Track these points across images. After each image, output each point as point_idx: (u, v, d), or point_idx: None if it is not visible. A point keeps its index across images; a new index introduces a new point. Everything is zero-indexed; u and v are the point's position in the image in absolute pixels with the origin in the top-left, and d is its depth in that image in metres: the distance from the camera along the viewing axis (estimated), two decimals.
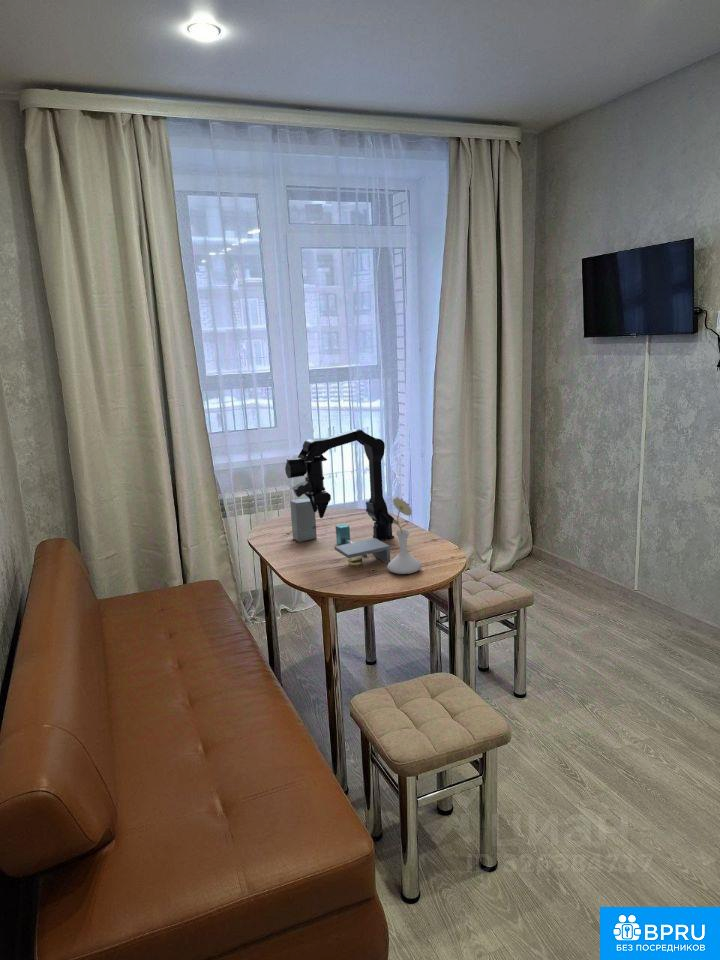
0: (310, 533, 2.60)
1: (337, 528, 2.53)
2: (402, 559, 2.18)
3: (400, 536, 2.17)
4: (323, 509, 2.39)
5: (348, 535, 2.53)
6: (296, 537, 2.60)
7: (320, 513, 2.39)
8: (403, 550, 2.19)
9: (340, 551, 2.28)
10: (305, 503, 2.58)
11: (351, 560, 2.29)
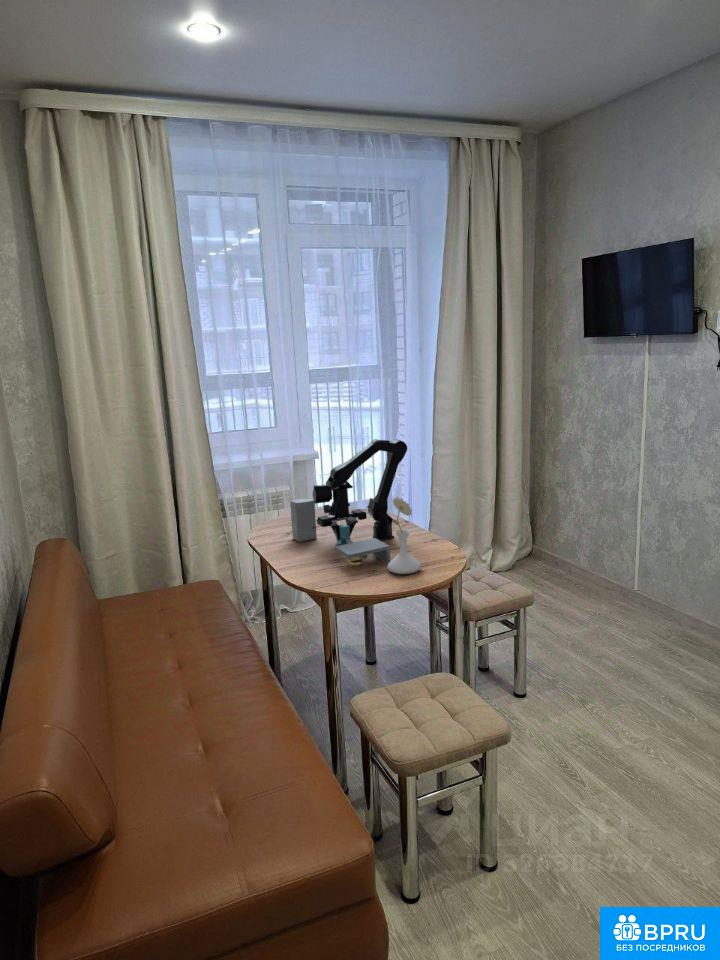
0: (310, 533, 2.60)
1: None
2: (402, 559, 2.18)
3: (400, 536, 2.17)
4: (336, 533, 2.52)
5: (348, 535, 2.53)
6: (296, 537, 2.60)
7: (335, 535, 2.53)
8: (403, 550, 2.19)
9: (340, 551, 2.28)
10: (305, 503, 2.58)
11: (351, 560, 2.29)
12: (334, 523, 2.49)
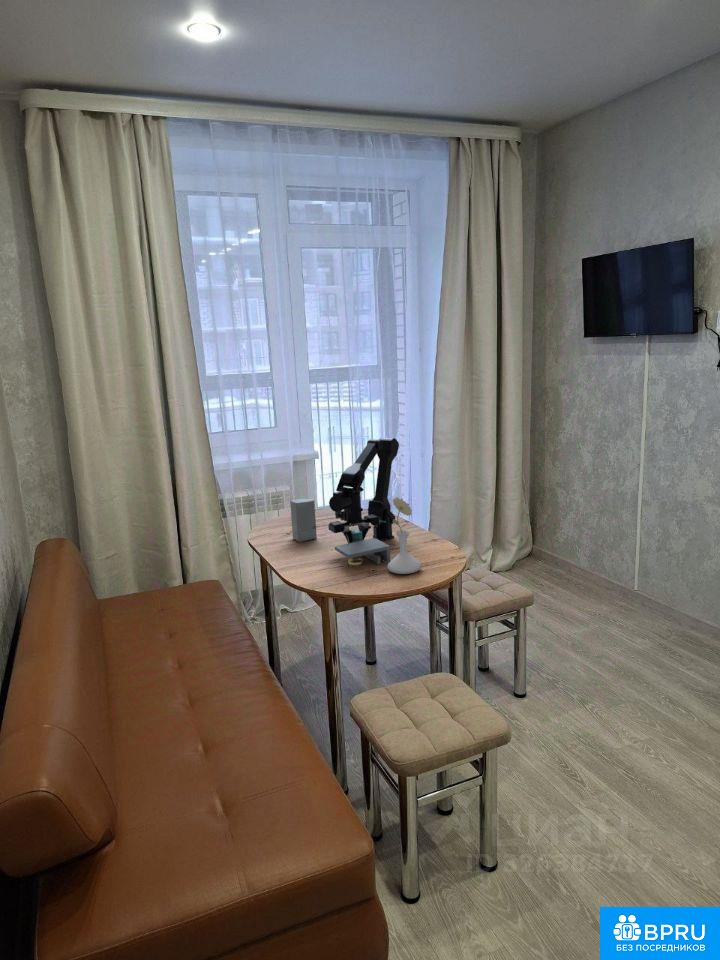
0: (310, 533, 2.60)
1: None
2: (402, 559, 2.18)
3: (400, 536, 2.17)
4: (348, 539, 2.42)
5: None
6: (296, 537, 2.60)
7: (347, 541, 2.43)
8: (403, 550, 2.19)
9: (340, 551, 2.28)
10: (305, 503, 2.58)
11: (351, 560, 2.29)
12: (346, 529, 2.39)
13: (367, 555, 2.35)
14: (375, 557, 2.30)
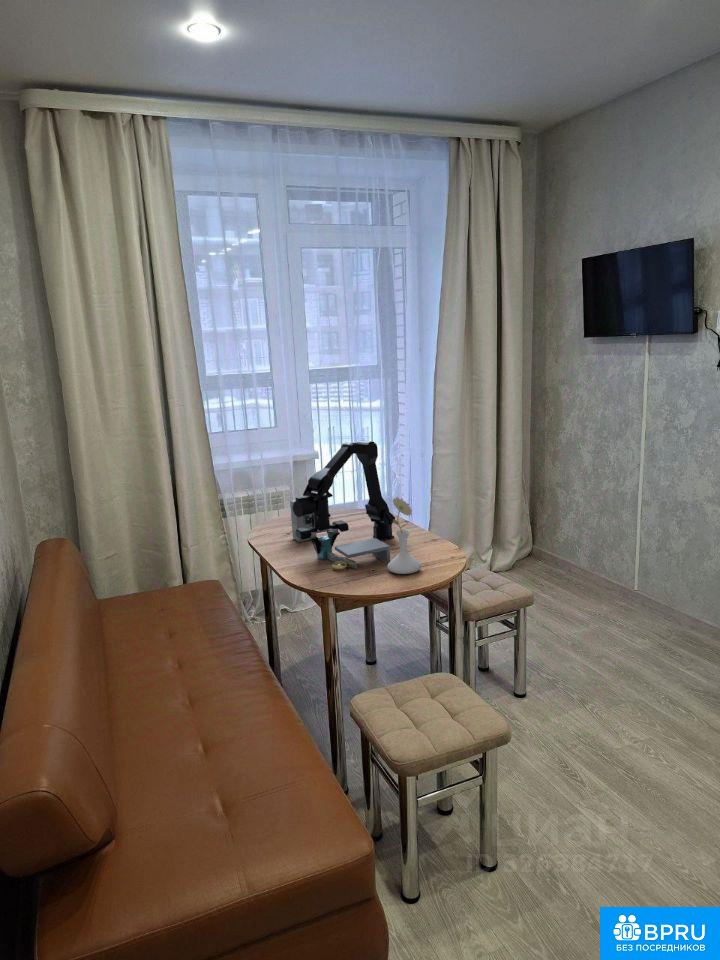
0: None
1: None
2: (402, 559, 2.18)
3: (400, 536, 2.17)
4: (315, 546, 2.36)
5: (330, 548, 2.38)
6: (296, 537, 2.60)
7: (315, 548, 2.38)
8: (403, 550, 2.19)
9: (340, 551, 2.28)
10: None
11: (336, 564, 2.26)
12: (313, 535, 2.34)
13: None
14: (351, 562, 2.25)
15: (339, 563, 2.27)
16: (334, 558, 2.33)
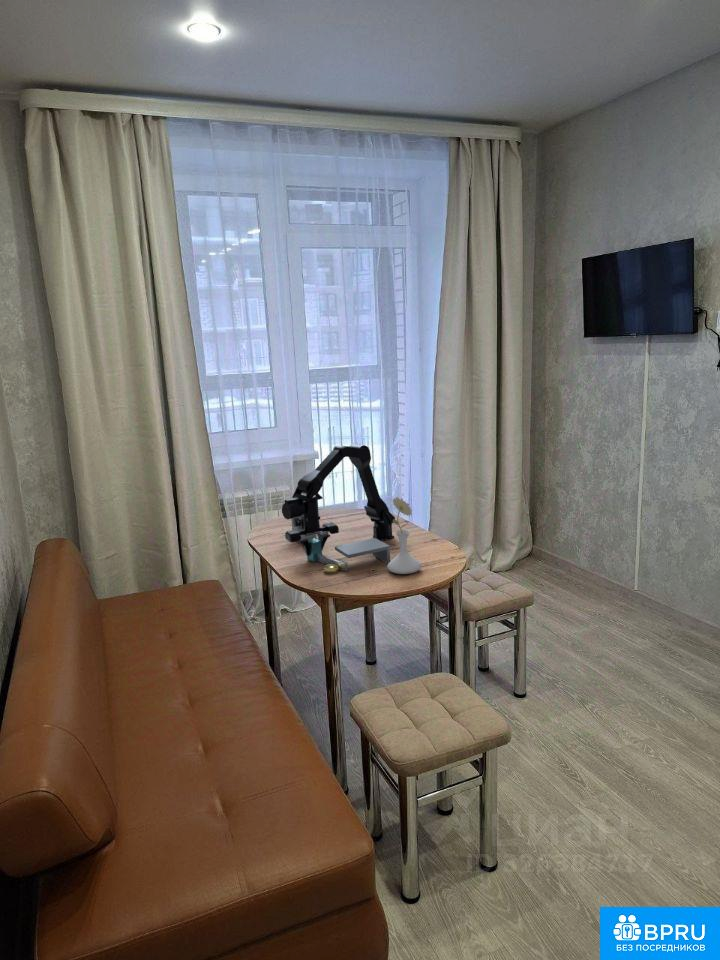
0: None
1: None
2: (402, 559, 2.18)
3: (400, 536, 2.17)
4: (305, 549, 2.34)
5: (320, 550, 2.36)
6: None
7: None
8: (403, 550, 2.19)
9: (340, 551, 2.28)
10: None
11: (327, 567, 2.24)
12: (303, 538, 2.32)
13: (331, 563, 2.29)
14: (341, 564, 2.24)
15: (330, 566, 2.25)
16: (324, 560, 2.32)
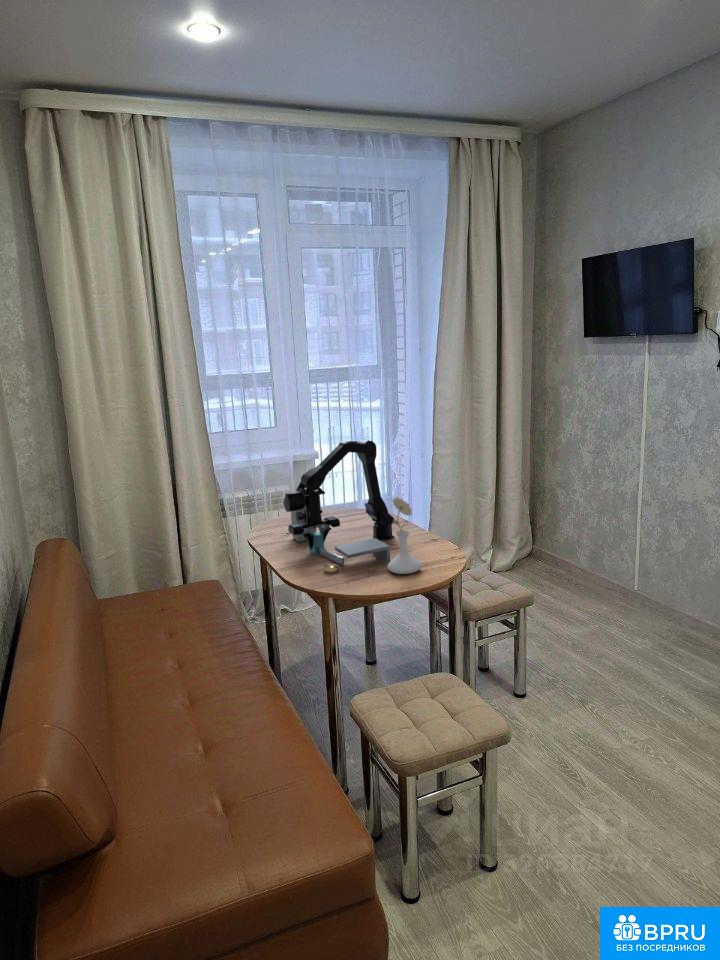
0: None
1: None
2: (402, 559, 2.18)
3: (400, 536, 2.17)
4: (308, 541, 2.43)
5: (322, 543, 2.44)
6: (296, 537, 2.60)
7: (307, 543, 2.44)
8: (403, 550, 2.19)
9: (340, 551, 2.28)
10: None
11: (327, 567, 2.24)
12: (306, 531, 2.40)
13: (330, 557, 2.36)
14: (339, 558, 2.31)
15: (330, 566, 2.25)
16: (325, 553, 2.39)
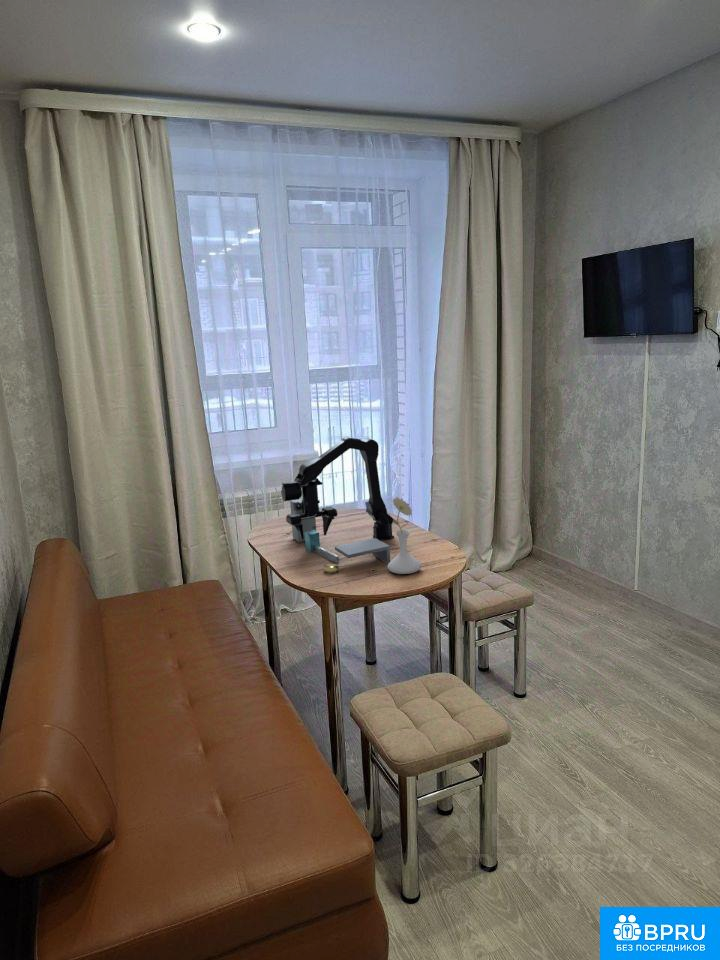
0: None
1: (306, 535, 2.47)
2: (402, 559, 2.18)
3: (400, 536, 2.17)
4: (300, 532, 2.45)
5: (318, 542, 2.47)
6: (296, 537, 2.60)
7: None
8: (403, 550, 2.19)
9: (340, 551, 2.28)
10: None
11: (327, 567, 2.24)
12: None
13: (325, 555, 2.39)
14: (333, 556, 2.34)
15: (330, 566, 2.25)
16: (320, 552, 2.42)
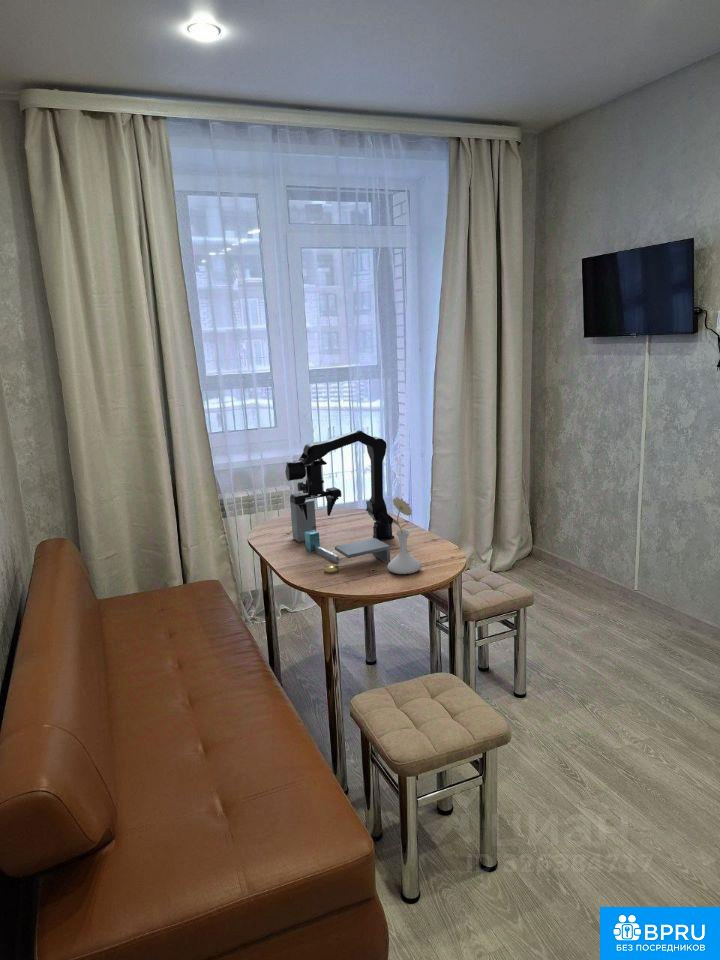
0: None
1: (306, 535, 2.47)
2: (402, 559, 2.18)
3: (400, 536, 2.17)
4: (304, 512, 2.44)
5: (318, 542, 2.47)
6: (296, 537, 2.60)
7: (303, 515, 2.45)
8: (403, 550, 2.19)
9: (340, 551, 2.28)
10: None
11: (327, 567, 2.24)
12: None
13: (325, 555, 2.39)
14: (333, 556, 2.34)
15: (330, 566, 2.25)
16: (320, 552, 2.42)
